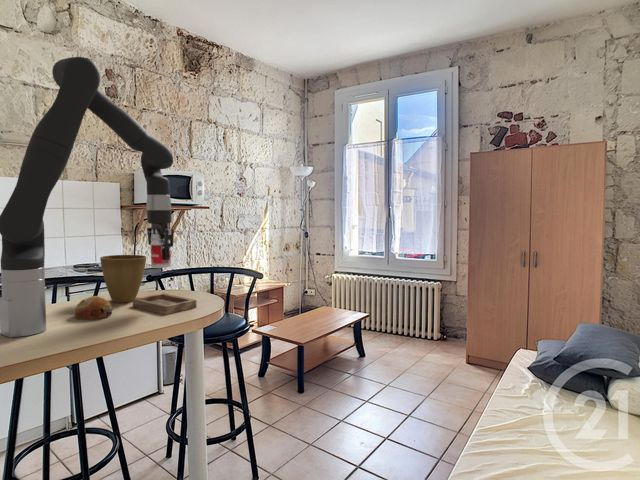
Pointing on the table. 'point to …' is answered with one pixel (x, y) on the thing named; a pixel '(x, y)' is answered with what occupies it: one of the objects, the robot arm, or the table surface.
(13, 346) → the table surface
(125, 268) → the plant pot
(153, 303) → the shallow rectangular tray
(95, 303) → the bread roll
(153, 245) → the pill bottle
